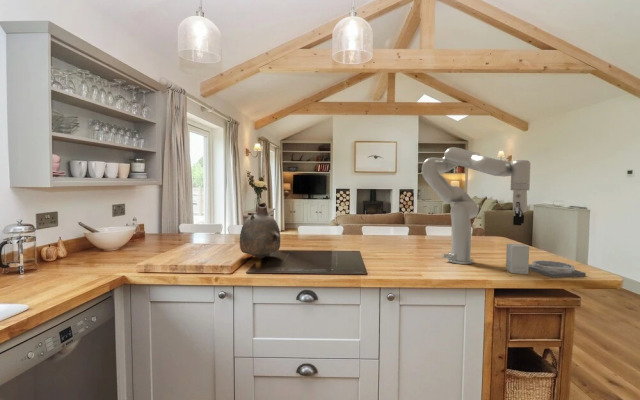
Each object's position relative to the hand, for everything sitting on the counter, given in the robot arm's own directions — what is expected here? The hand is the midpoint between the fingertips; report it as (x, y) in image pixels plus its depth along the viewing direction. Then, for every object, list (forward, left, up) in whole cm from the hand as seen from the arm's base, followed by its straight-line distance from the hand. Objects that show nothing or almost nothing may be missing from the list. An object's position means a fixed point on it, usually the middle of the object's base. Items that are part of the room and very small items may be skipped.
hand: (518, 224), depth 155 cm
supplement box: (0, 0, -22) cm, 22 cm away
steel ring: (+17, -2, -21) cm, 27 cm away
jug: (-119, +41, -22) cm, 128 cm away
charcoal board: (+17, -2, -22) cm, 28 cm away
